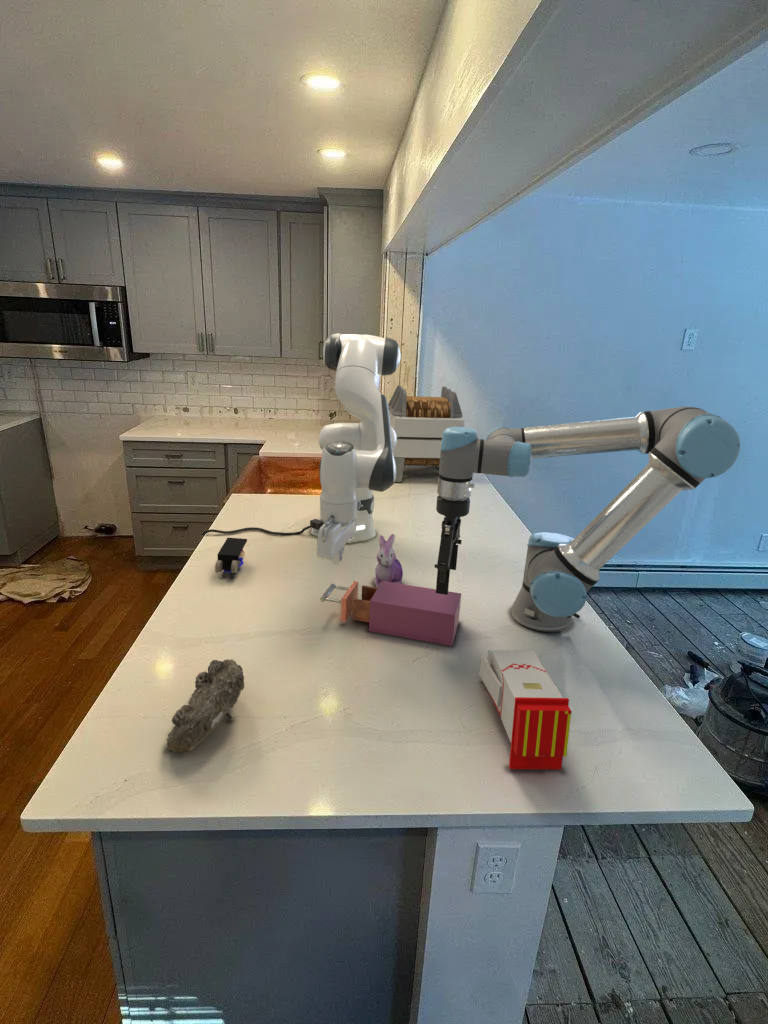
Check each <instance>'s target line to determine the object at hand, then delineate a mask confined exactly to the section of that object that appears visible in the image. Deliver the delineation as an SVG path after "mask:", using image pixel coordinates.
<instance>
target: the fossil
mask: <svg viewBox="0 0 768 1024" xmlns="http://www.w3.org/2000/svg"><path fill="white" fill-rule="evenodd" d="M243 670H244V669H243V667H242V665H240V664H237V662H236V661H235V660H234V659H232V658H231V659H227V658H226V659H224V660H223V661H222V660H217V659H212V660H211V661H210V663H209V665H208V666H207V671H201V672H199V673H198V674H197V675H196V676H195V680H194V684H195V685H194V687H195V689H194V690H193V693H192V694H191V697H190V698H189V700H188V704H184V705H182V706H181V707H180V709H177V710H176V711H175V713H174V715H173V716H172V718H171V723H172V724H173V727H172V730H171V731H170V732H168V734H167V738H166V741H167V742H166V745H167V749H168V750H169V751H173V752H174V753H176V754H178V753H182V752H188V751H189V752H192V751H193V750H195V748H196V747H197V746H199V744H200V743H201V742H203V741H204V740H205V739H206V738H207V737H208V736H209V735H210V734H211V733H212V732H214V730H215V729H217V727H218V726H219V724H220V722H221V721H222V720H223V719H224V718H225V716H226V717H227V719H229V720H233V717H232V715H230V714H229V710H230V709H231V708H234V706H235V704H236V703H237V702H238V699H239V697H240V695H241V693H242V691H243V690H245V689H244V688H245V675H244V671H243Z"/></svg>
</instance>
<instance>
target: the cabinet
mask: <svg viewBox="0 0 768 1024" xmlns="http://www.w3.org/2000/svg"><path fill="white" fill-rule="evenodd" d="M461 602H462V593H460V592H456V591H455V592H454V591H449V590H448V595H445V594H439V593H436V588H430V587H424V586H417V585H411V584H404V583H401V584H399V583H392V582H386V581H382V582H381V584H380V585H379V587H378V589H377V590H376V592H375V594H374V595H373V597H372V599H371V600H370V614H369V622H368V632H372V633H378V634H383V635H389V636H394V637H398V638H399V637H400V638H404V639H411V640H416V641H421V642H422V641H423V642H427V643H433V644H439V645H444V646H450V647H452V646H453V644H454V641H455V638H456V633H457V630H458V626H459V622H460V614H461V613H460V612H461Z"/></svg>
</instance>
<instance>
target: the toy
mask: <svg viewBox="0 0 768 1024" xmlns="http://www.w3.org/2000/svg"><path fill="white" fill-rule="evenodd" d="M480 658H481V659H480V667H479V677H480V679H481V681H482V682H483V684H484V686H485V687H486V690H487V692H488V694H489V696H490V699H491V701H492V702H493V704H494V707H495V709H496V711H497V713H498V715H499V717H500V720H501V722H502V725H503V727H504V730H505V732H506V734H507V737H508V739H509V742H510V749H509V750H510V751H509V753H510V754H509V761H508V762H509V764H508V769H509V770H559V771H560V770H561V771H562V767H563V759H564V758H567V755H568V747H569V738H570V737H569V736H570V729H571V728H570V727H571V721H572V710H571V708H570V706H569V704H570V699H569V697H563V696H562V694H561V692H560V691H559V689H558V687H557V686H556V684H555V683H554V681H553V680H552V678H551V676H550V675H549V674H548V672H547V670H546V669H545V667H544V666H543V664H542V662H541V659H540V657H539V655H537V654H536V653H535V652H534V650H514V649H513V650H512V649H491V650H487V658H486V657H485V656H484V655H481V657H480Z"/></svg>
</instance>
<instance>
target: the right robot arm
mask: <svg viewBox="0 0 768 1024" xmlns="http://www.w3.org/2000/svg"><path fill="white" fill-rule="evenodd" d="M630 451H631V452H632V451H638V452H639V453H640V454H642V455H648V461H647V464H646V465H645V466H644V468H642V469H641V470H640V471H639V472H638V473H637V474H636V475H635V476H634V477H633V478H632V480H630V481H629V482H628V484H626V486H625V487H624V488H623V489H622V490H621V491H620V492H619V493H618V494H617V495H615V497H614V498H613V499H612V500H611V501H610V502H608V504H607V505H606V506H605V507H604V508H603V509H602V510H601V511H600V512H599V513H598V514H597V515H596V516H595V517H594V518H593V519H592V520H591V521H590V522H589V523H588V524H586V526H585V527H584V528H583V529H582V530H581V531H580V532H579V533H578V534H577V535H576V536H575V537H574V538H573V537H571V536H568V535H565V534H562V533H556V532H548V531H547V532H545V531H543V532H542V531H541V532H535V533H532V534H530V536H529V538H528V543H527V544H526V546H527V551H526V558H525V564H524V569H523V578H522V585H521V588H520V590H519V591H518V593H517V595H516V597H515V600H514V601H513V603H512V606H511V617H512V618H513V619H514V620H515V621H516V622H517V623H518V624H520V625H521V626H523V627H525V628H527V629H530V630H533V631H537V632H544V633H559V632H563V631H566V630H567V629H569V628H570V626H571V625H572V620H573V617H574V618H576V619H580V617H581V615H580V614H578V612H580V611H581V610H582V609H583V608H584V606H585V604H586V602H587V599H588V592H589V591H590V590H591V589H592V588H593V587H594V586H595V585H596V584H597V583H598V582H599V581H600V570H601V569H603V567H604V566H605V565H606V564H607V563H609V561H610V560H611V559H613V557H614V556H615V555H617V554H618V553H619V552H620V550H622V549H623V548H624V547H625V546H626V545H627V544H628V543H629V542H630V541H631V540H632V539H633V538H634V537H635V536H636V535H638V533H639V532H640V531H642V529H643V528H644V527H645V526H647V525H648V524H649V523H650V522H651V521H652V520H653V519H654V518H655V517H656V516H657V515H658V514H659V513H660V512H661V511H662V510H663V509H664V508H665V507H666V506H667V505H669V504H670V502H671V501H672V500H673V499H675V497H677V496H678V495H679V494H680V493H681V492H683V491H689V490H690V491H691V490H695V489H696V488H697V487H698V486H700V484H702V483H703V482H704V481H705V480H706V479H711V478H717V477H719V476H722V475H723V474H725V473H726V472H728V471H729V470H730V469H732V467H733V465H735V463H736V461H737V460H738V457H739V455H740V452H741V440H740V436H739V433H738V432H737V429H736V428H735V427H734V426H733V425H732V424H731V423H730V422H728V421H727V420H726V419H724V418H722V417H721V416H720V415H717V414H713V413H710V412H708V411H707V410H705V409H702V408H700V407H696V406H677V407H669V408H662V409H654V410H644V411H640V412H639V413H638V414H637V415H636V416H631V417H620V418H619V417H618V418H611V419H610V418H609V419H601V420H589V421H578V422H568V423H557V424H546V425H538V426H528V427H527V426H526V427H518V428H517V427H516V428H510V427H507V426H498V427H495V428H493V429H492V430H491V431H490V432H489V434H488V435H487V438H486V439H483V438H478V432H477V430H476V429H474V428H471V427H466V426H464V427H450V428H447V429H445V431H444V432H443V436H442V444H441V452H440V467H439V470H438V478H437V479H438V480H437V491H436V493H437V496H436V507H435V510H436V512H437V514H439V515H441V516H443V520H442V521H441V534H440V542H439V550H438V557H437V564H436V563H435V564H434V568H435V569H437V573H436V583H435V584H436V585H435V589H436V593H439V594H445V595H448V591H449V587H450V576H451V570H453V571H456V570H457V562H458V554H459V552H458V551H459V545H462V539H460V538H461V524H462V518H463V517H466V516H468V515H469V513H470V507H471V498H470V497H471V496H472V495H471V494H472V489H474V488H475V484H474V483H472V482H473V475H474V474H483V475H494V476H502V477H510V478H515V477H516V478H517V477H518V478H519V477H521V478H524V477H527V476H528V475H529V473H530V469H531V462H532V459H544V458H557V457H570V456H581V455H593V454H606V453H617V452H630Z"/></svg>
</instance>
